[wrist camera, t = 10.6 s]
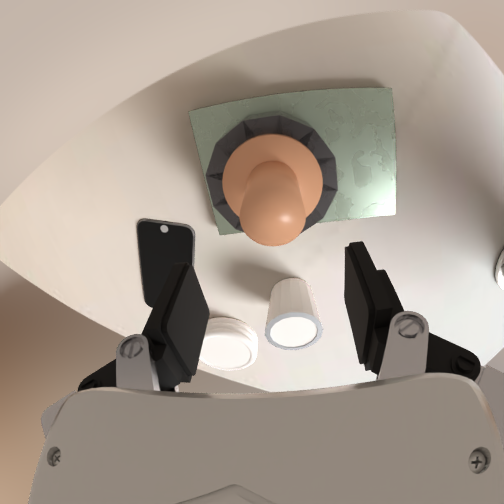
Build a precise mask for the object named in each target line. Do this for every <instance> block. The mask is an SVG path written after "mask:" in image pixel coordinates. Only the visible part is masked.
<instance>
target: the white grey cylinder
mask: <svg viewBox="0 0 504 504" xmlns="http://www.w3.org/2000/svg"><path fill="white" fill-rule="evenodd" d="M322 332H323V327H322V323H321V320H320V316H319V312H318V309H317V305H316V302H315V298H314V295H313V292H312V289H311V286H310V285H309V284H308V283H307V282H306V281H304V280H301V279H299V278H287V279H284V280H281V281H280V282H278V283H277V284H275V286H274V287H273V289H272V290H271V297H270V303H269V309H268V315H267V321H266V327H265V336H266V338H267V340H268V342H270V343H271V344H272V345H274V346H275V347H278V348H281V349H285V350H299V349H303V348H307V347H309V346H311V345H313V344H314V343H316V342H317V341H318V340H319V338H320V337H321V335H322Z"/></svg>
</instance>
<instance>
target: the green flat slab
mask: <svg viewBox="0 0 504 504" xmlns="http://www.w3.org/2000/svg"><path fill="white" fill-rule="evenodd" d="M189 117H190V121H191V125H192V129H193V133H194V137H195V142H196V146H197V150H198V154H199V158H200V162H201V166H202V170H203V174H204V178H205V182H206V185H207V189H208V193H209V197H210V201H211V205H212V209H213V212H214V216H215V220H216V224H217V227H218V231H219V235H226V234H234V233H241V232H244V230H243V229H242V227H241V224H240V217H238V216H237V215H236V214H235V213H234V211H233V210H232V209H231V208H230V206H229V204H228V203H227V201H226V198H225V195H224V192H223V185H222V179H223V172H224V169H225V166H226V164H227V161H228V160H229V158H230V156H231V155H232V153H233V152H234V151H235V150H236V148H237V147H239V146H240V145H241V144H242V143H244V142H245V141H246V140H248V139H250V138H252V137H255V136H258V135H262V134H282V135H286V136H289V137H292V138H294V139H296V140H298V141H299V142H301V143H302V144H304V145H305V146H306V147H307V148H308V149H309V150H310V151H311V152H312V154H313V155H314V157H315V158H316V160H317V162H318V164H319V166H320V169H321V172H322V178H323V187H322V193H321V197H320V199H319V202H318V204H317V205H316V207H315V209H314V210H313V211H312V212H311V213H310V214H309V215H308V216H307V217H306V220H305V225H304V227H303V230H302V231H301V233H302V232H303V231H305V230H306V229H308V228H309V227H311V226H312V225H314V224H315V223H322V222H331V221H340V220H349V219H358V218H367V217H377V216H386V215H395V205H396V138H395V120H394V107H393V97H392V88H337V89H321V90H309V91H298V92H289V93H281V94H274V95H267V96H260V97H254V98H248V99H242V100H237V101H232V102H227V103H222V104H217V105H213V106H208V107H204V108H200V109H196V110H192V111H189Z"/></svg>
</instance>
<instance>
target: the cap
mask: <svg viewBox="0 0 504 504" xmlns="http://www.w3.org/2000/svg"><path fill="white" fill-rule="evenodd" d="M222 185H223V192H224V195H225V198H226V201H227V203H228V204H229V206H230V208H231V209H232V210H233V211H234V213H235V214H236V215H237V216H238V217H240V224H241V227H242V229H243V230H244V232H245V233H246V235H247V236H248V237H249V238H250V239H252V240H253V241H255V242H257V243H259V244H262V245H266V246H280V245H284V244H287V243H289V242H291V241H292V240H294V239H295V238H296V237H297V236H298V235H299V234H300V233H301V231H302V230H303V227H304V225H305V220H306V217H307V216H308V215H309V214H310V213H311V212H312V211H313V210H314V209H315V207H316V205H317V204H318V202H319V199H320V197H321V193H322V187H323V178H322V172H321V169H320V166H319V164H318V162H317V160H316V158H315V157H314V155H313V154H312V152H311V151H310V150H309V149H308V148H307V147H306V146H305V145H304V144H302V143H301V142H299V141H298V140H296V139H294V138H292V137H289V136H286V135H282V134H262V135H258V136H255V137H252V138H250V139H248V140H246V141H245V142H244V143H242V144H241V145H240V146H239V147H237V148H236V150H235V151H234V152H233V153H232V155H231V156H230V158H229V160H228V161H227V164H226V166H225V169H224V172H223V179H222Z"/></svg>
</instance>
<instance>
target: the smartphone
mask: <svg viewBox="0 0 504 504" xmlns="http://www.w3.org/2000/svg"><path fill="white" fill-rule="evenodd" d="M137 235H138V247H139V257H140V267H141V276H142V285H143V291H144V298H145V302H146V304H147V305H148V306H150V307H152V308H153V307H154V305H155V303H156V300H157V298H158V296H159V295H160V293H161V291H162V288H163V286H164V284H165V282H166V280H167V278H168V276H169V274H170V272H171V269H172V267H173V265H174V264H175V263H182V262H188V264H189V265H192V266H193V268H194V250H195V232H194V230H193V228H192V227H191V226H189V225H187V224H181V223H173V222H166V221H158V220H151V219H141V220H140V221H139V222H138V224H137Z"/></svg>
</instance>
